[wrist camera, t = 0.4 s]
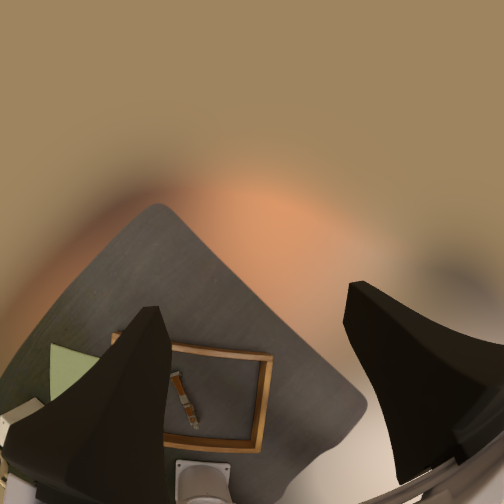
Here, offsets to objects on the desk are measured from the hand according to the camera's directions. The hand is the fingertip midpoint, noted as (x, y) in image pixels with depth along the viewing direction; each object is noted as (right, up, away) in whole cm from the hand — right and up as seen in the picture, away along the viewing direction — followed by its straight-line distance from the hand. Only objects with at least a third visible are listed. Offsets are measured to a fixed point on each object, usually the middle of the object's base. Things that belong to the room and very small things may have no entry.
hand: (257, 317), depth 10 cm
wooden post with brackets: (-9, -17, +23) cm, 30 cm away
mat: (-25, -16, +19) cm, 35 cm away
